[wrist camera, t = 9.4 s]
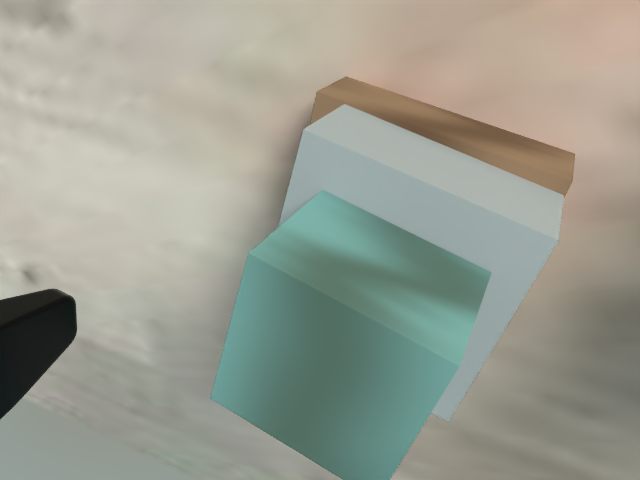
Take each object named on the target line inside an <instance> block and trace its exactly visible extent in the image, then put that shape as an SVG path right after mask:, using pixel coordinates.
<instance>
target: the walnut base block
mask: <svg viewBox="0 0 640 480" xmlns="http://www.w3.org/2000/svg"><path fill="white" fill-rule="evenodd" d="M344 104H346V105H348V106H351V107H353V108H356V109H358V110H360V111H363V112H365V113H368V114H370V115H372V116H375V117H377V118H380V119H382V120H384V121H387V122H389V123H392V124H394V125H396V126H399V127H401V128H404V129H406V130H408V131H411V132H413V133H416V134H418V135H420V136H423V137H425V138H428V139H430V140H432V141H435V142H437V143H440V144H442V145H444V146H447V147H449V148H452V149H454V150H456V151H459V152H461V153H464V154H466V155H468V156H471V157H473V158H476V159H478V160H480V161H483V162H485V163H488V164H490V165H492V166H495V167H497V168H500V169H502V170H504V171H507V172H509V173H512V174H514V175H516V176H519V177H521V178H524V179H526V180H528V181H531V182H533V183H536V184H538V185H540V186H543V187H545V188H548V189H550V190H552V191H555V192H557V193H560V194H562V195H564V197H565V195H566V193H567V191H568V189H569V187H570V185H571V183H572V181H573V171H574V160H575V154H574V153H571V152H568V151H565V150H562V149H559V148H556V147H553V146H550V145H547V144H544V143H541V142H539V141H536V140H533V139H530V138H527V137H524V136H521V135H518V134H515V133H512V132H509V131H506V130H503V129H500V128H497V127H494V126H491V125H488V124H485V123H482V122H479V121H476V120H473V119H470V118H467V117H464V116H461V115H459V114H456V113H453V112H450V111H447V110H444V109H441V108H438V107H435V106H432V105H429V104H426V103H423V102H420V101H417V100H414V99H411V98H408V97H405V96H402V95H399V94H396V93H393V92H390V91H387V90H384V89H382V88H379V87H376V86H373V85H370V84H367V83H364V82H361V81H358V80H355V79H352V78H349V77H345V78H343V79H341V80H339V81H337V82H335V83H333V84H331V85H329V86H327V87H325V88H323V89H321V90H319V91H317V93H316V98H315V103H314V108H313V112H312V117H311V122H310V125H311V124H313V123H314V122H316V121H317V120H319V119H321V118H322V117H324V116H326V115H327V114H329V113H331V112H332V111H334V110H335V109H337V108H339V107H340V106H342V105H344Z"/></svg>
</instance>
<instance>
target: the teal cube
mask: <svg viewBox="0 0 640 480" xmlns="http://www.w3.org/2000/svg"><path fill="white" fill-rule="evenodd" d="M491 273H492V272H489V271H487V270H485V269H483V268H481V267H479V266H477V265H475V264H473V263H471V262H469V261H467V260H465V259H463V258H461V257H459V256H457V255H455V254H453V253H451V252H449V251H447V250H445V249H443V248H441V247H438V246H436V245H434V244H432V243H430V242H428V241H426V240H424V239H422V238H420V237H418V236H416V235H414V234H412V233H410V232H408V231H406V230H404V229H402V228H400V227H398V226H396V225H394V224H392V223H390V222H388V221H385V220H383V219H381V218H379V217H377V216H375V215H373V214H371V213H369V212H367V211H365V210H363V209H361V208H359V207H357V206H355V205H353V204H351V203H349V202H347V201H345V200H343V199H341V198H339V197H337V196H335V195H332V194H330V193H328V192H326V191H324V190H322V191H321V192H319V193H318V194H317V195H316V196H315V197H314V198H312V199H311V200H310V201H309V202H308V203H307V204H305V205H304V206H303V207H302V208H301V209H299V210H298V211H297V212H296V213H295V214H294V215H292V216H291V217H290V218H289V219H288V220H287V221H285V222H284V223H283V224H282V225H281V226H280V227H278V228H277V229H276V230H275V231H274V232H272V233H271V234H270V235H269V236H268V237H267V238H265V239H264V240H263V241H262V242H261V243H260V244H258V245H257V246H256V247H255V248H254V249H252V250H251V251H250V252H249V253H248V256H247V260H246V264H245V268H244V271H243V275H242V279H241V283H240V287H239V291H238V294H237V298H236V302H235V306H234V310H233V314H232V317H231V321H230V325H229V329H228V333H227V337H226V340H225V344H224V348H223V352H222V356H221V360H220V363H219V367H218V371H217V375H216V379H215V383H214V386H213V390H212V394H211V398H210V399H212V400H214V401H215V402H217V403H219V404H220V405H222V406H224V407H225V408H227V409H228V410H230V411H232V412H233V413H235V414H237V415H238V416H240V417H242V418H243V419H245V420H246V421H248V422H250V423H251V424H253V425H255V426H256V427H258V428H260V429H261V430H263V431H264V432H266V433H268V434H269V435H271V436H273V437H274V438H276V439H278V440H279V441H281V442H283V443H284V444H286V445H287V446H289V447H291V448H292V449H294V450H296V451H297V452H299V453H301V454H302V455H304V456H305V457H307V458H309V459H310V460H312V461H314V462H315V463H317V464H319V465H320V466H322V467H323V468H325V469H327V470H328V471H330V472H332V473H333V474H335V475H337V476H338V477H340V478H341V479H343V480H390V478H391V477H392V475H393V473H394V472H395V470H396V469H397V467H398V465H399V464H400V462H401V461H402V459H403V457H404V456H405V454H406V452H407V451H408V449H409V448H410V446H411V444H412V443H413V441H414V439H415V438H416V436H417V435H418V433H419V431H420V430H421V428H422V427H423V425H424V423H425V422H426V420H427V418H428V417H429V415H430V414H431V412H432V410H433V409H434V407H435V405H436V404H437V402H438V401H439V399H440V397H441V396H442V394H443V393H444V391H445V389H446V388H447V386H448V384H449V383H450V381H451V380H452V378H453V376H454V375H455V373H456V372H457V370H458V368H459V367H460V364H461V361H462V358H463V355H464V352H465V349H466V346H467V344H468V341H469V338H470V335H471V332H472V329H473V326H474V323H475V320H476V317H477V314H478V311H479V308H480V305H481V303H482V300H483V297H484V294H485V291H486V288H487V285H488V282H489V279H490V276H491Z"/></svg>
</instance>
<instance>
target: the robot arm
mask: <svg viewBox="0 0 640 480" xmlns="http://www.w3.org/2000/svg"><path fill="white" fill-rule="evenodd" d="M76 332H77V319H76V303H75V300H74V298H73V297H72V296H70V295H68V294H66V293H64V292H62V291H60V290H58V289H47V290H43V291H38V292H34V293H29V294H25V295H20V296H16V297H11V298H7V299H2V300H0V419H1V418H2V417H3V416H4V415H5V414H6V413H7V412H9V411H10V410H11V409H12V408H13V407H14V405H16V403H17V402H18V401H19V400H20V399H21V398H22V397H23V396H24V395H25V394H26V393H27V392H28V391H29V390H30V388H31V387H32V386H33V385H34V384H35V383H36V382H37V381H38V380H39V378H40V377H41V376H42V375H43V374H44V373H45V372H46V371H47V370H48V368H49V367H50V366H51V365H52V364H53V363H54V362H55V361H56V360H57V359H58V357H59V356H60V355H61V354H62V353H63V352H64V351H65V350H66V349H67V347H68V346H69V345H70V344H71V343H72V341H73V340H74V338H75V336H76Z"/></svg>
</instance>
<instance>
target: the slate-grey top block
mask: <svg viewBox="0 0 640 480" xmlns="http://www.w3.org/2000/svg"><path fill="white" fill-rule="evenodd" d="M322 190H324V191H326V192H328V193H330V194H332V195H335V196H337V197H339V198H341V199H343V200H345V201H347V202H349V203H351V204H353V205H355V206H357V207H359V208H361V209H363V210H365V211H367V212H369V213H371V214H373V215H375V216H377V217H379V218H381V219H383V220H385V221H388V222H390V223H392V224H394V225H396V226H398V227H400V228H402V229H404V230H406V231H408V232H410V233H412V234H414V235H416V236H418V237H420V238H422V239H424V240H426V241H428V242H430V243H432V244H434V245H436V246H438V247H441V248H443V249H445V250H447V251H449V252H451V253H453V254H455V255H457V256H459V257H461V258H463V259H465V260H467V261H469V262H471V263H473V264H475V265H477V266H479V267H481V268H483V269H485V270H487V271H489V272H492V273H491V276H490V279H489V282H488V285H487V288H486V291H485V294H484V297H483V300H482V303H481V305H480V308H479V311H478V314H477V317H476V320H475V323H474V326H473V329H472V332H471V335H470V338H469V341H468V344H467V346H466V349H465V352H464V355H463V358H462V361H461V364H460V367H459V368H458V370H457V372H456V373H455V375H454V376H453V378H452V380H451V381H450V383H449V384H448V386H447V388H446V389H445V391H444V393H443V394H442V396H441V397H440V399H439V401H438V402H437V404H436V405H435V407H434V409H433V410H432V412H431V413H432V414H434V415H436V416H437V417H439V418H441V419H443V420H445V421H447V422H449V420H450V418H451V417H452V415H453V413H454V412H455V410H456V409H457V407H458V405H459V404H460V402H461V400H462V399H463V397H464V395H465V394H466V392H467V390H468V389H469V387H470V386H471V384H472V382H473V381H474V379H475V377H476V376H477V374H478V372H479V371H480V369H481V367H482V366H483V364H484V362H485V361H486V359H487V358H488V356H489V354H490V353H491V351H492V349H493V348H494V346H495V344H496V343H497V341H498V339H499V338H500V336H501V335H502V333H503V331H504V330H505V328H506V326H507V325H508V323H509V321H510V320H511V318H512V316H513V315H514V313H515V311H516V310H517V308H518V307H519V305H520V303H521V302H522V300H523V298H524V297H525V295H526V293H527V292H528V290H529V288H530V287H531V285H532V284H533V282H534V280H535V279H536V277H537V275H538V274H539V272H540V270H541V269H542V267H543V265H544V264H545V262H546V261H547V259H548V257H549V256H550V254H551V252H552V251H553V249H554V247H555V246H556V244H557V242H558V241H559V235H560V226H561V218H562V210H563V202H564V195H562V194H560V193H557V192H555V191H552V190H550V189H548V188H545V187H543V186H540V185H538V184H536V183H533V182H531V181H528V180H526V179H524V178H521V177H519V176H516V175H514V174H512V173H509V172H507V171H504V170H502V169H500V168H497V167H495V166H492V165H490V164H488V163H485V162H483V161H480V160H478V159H476V158H473V157H471V156H468V155H466V154H464V153H461V152H459V151H456V150H454V149H452V148H449V147H447V146H444V145H442V144H440V143H437V142H435V141H432V140H430V139H428V138H425V137H423V136H420V135H418V134H416V133H413V132H411V131H408V130H406V129H404V128H401V127H399V126H396V125H394V124H392V123H389V122H387V121H384V120H382V119H380V118H377V117H375V116H372V115H370V114H368V113H365V112H363V111H360V110H358V109H356V108H353V107H351V106H348V105H346V104H344V105H342V106H340V107H339V108H337V109H335V110H334V111H332V112H331V113H329V114H327V115H326V116H324V117H322V118H321V119H319V120H317V121H316V122H314V123H313V124H311V125H309V126H308V127H306V128H304V129H303V133H302V137H301V141H300V145H299V148H298V152H297V156H296V160H295V164H294V168H293V171H292V175H291V179H290V183H289V187H288V190H287V194H286V198H285V202H284V206H283V210H282V213H281V217H280V221H279V225H278V227H280V226H281V225H282V224H283V223H284V222H285V221H287V220H288V219H289V218H290V217H291V216H292V215H294V214H295V213H296V212H297V211H298V210H299V209H301V208H302V207H303V206H304V205H305V204H307V203H308V202H309V201H310V200H311V199H312V198H314V197H315V196H316V195H317V194H318V193H319V192H321V191H322Z"/></svg>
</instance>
